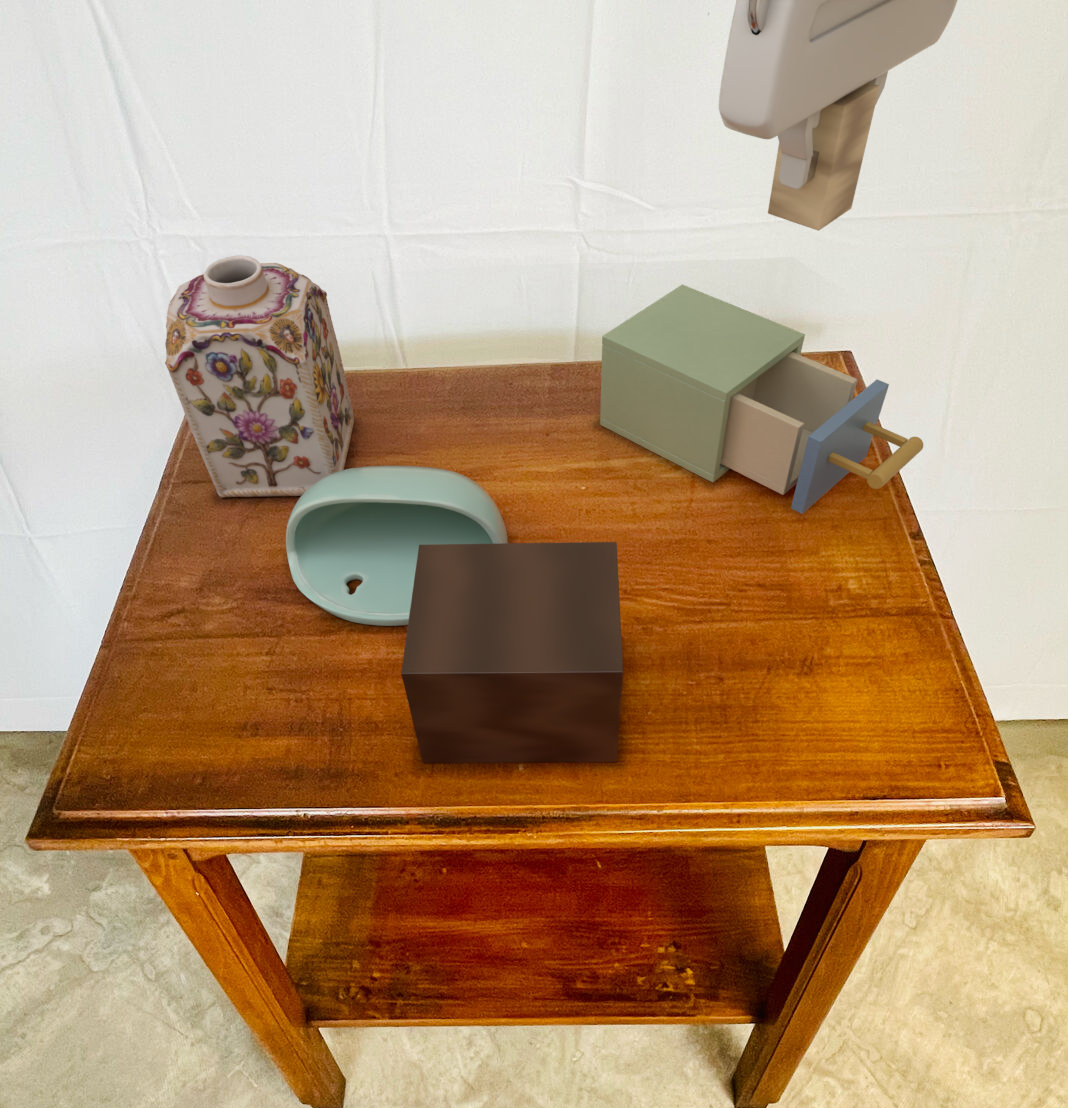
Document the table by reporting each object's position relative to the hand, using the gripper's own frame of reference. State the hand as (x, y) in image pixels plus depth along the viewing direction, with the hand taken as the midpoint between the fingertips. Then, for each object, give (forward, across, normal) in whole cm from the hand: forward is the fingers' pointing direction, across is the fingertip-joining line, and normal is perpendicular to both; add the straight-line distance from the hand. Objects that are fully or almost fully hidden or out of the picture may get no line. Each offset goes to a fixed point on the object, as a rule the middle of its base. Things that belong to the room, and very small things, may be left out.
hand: (819, 168), depth 58 cm
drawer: (+26, +6, -1) cm, 27 cm away
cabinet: (+27, +6, +11) cm, 30 cm away
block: (+3, 0, 0) cm, 3 cm away
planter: (+27, -25, +19) cm, 42 cm away
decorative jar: (+27, -23, +37) cm, 51 cm away
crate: (+27, -30, 0) cm, 40 cm away
